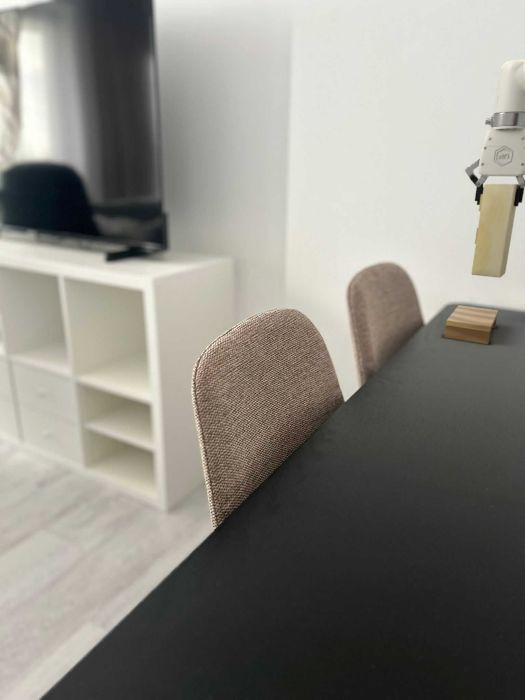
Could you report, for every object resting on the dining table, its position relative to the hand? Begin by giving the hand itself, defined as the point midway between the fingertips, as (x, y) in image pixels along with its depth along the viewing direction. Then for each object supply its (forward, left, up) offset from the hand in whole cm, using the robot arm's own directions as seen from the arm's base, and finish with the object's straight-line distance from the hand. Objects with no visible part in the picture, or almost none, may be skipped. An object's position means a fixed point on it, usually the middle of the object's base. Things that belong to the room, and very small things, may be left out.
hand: (497, 204), depth 120 cm
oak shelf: (+6, +11, -28) cm, 31 cm away
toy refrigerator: (0, 0, -16) cm, 16 cm away
